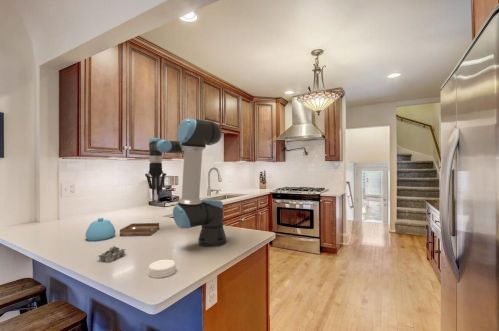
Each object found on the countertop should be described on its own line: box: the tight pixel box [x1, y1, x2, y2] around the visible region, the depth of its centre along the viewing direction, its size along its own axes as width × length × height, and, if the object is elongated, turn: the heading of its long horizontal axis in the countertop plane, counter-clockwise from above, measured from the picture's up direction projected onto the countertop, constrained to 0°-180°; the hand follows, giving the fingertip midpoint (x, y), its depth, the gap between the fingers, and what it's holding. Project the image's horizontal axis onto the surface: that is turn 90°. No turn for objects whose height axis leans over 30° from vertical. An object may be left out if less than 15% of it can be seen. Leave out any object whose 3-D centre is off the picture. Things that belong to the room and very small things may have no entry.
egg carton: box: [97, 245, 127, 263], centre depth 112 cm, size 11×8×4 cm
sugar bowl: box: [84, 217, 116, 242], centre depth 144 cm, size 15×15×12 cm
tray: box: [119, 222, 160, 237], centre depth 155 cm, size 16×18×4 cm
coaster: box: [148, 259, 177, 279], centre depth 96 cm, size 10×10×4 cm
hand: (156, 199), depth 156 cm, fingers closed
